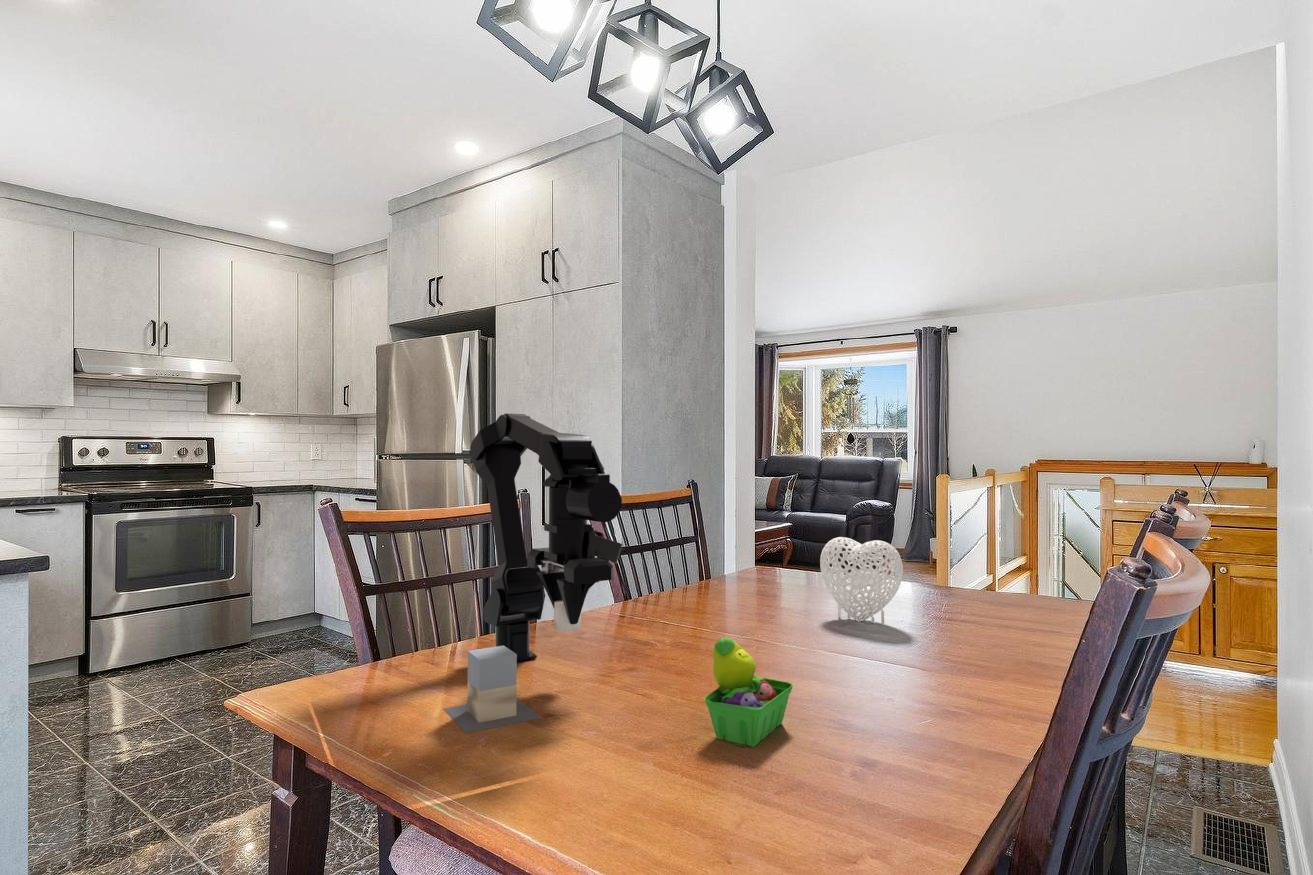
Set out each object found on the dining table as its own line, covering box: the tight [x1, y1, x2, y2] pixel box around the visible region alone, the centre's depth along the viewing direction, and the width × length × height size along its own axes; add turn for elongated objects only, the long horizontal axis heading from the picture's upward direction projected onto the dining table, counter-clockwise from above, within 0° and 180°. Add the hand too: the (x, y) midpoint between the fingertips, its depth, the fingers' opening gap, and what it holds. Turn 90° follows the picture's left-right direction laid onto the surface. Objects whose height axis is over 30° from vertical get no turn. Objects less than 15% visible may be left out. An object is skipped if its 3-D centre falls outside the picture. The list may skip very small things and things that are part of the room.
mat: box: [443, 696, 542, 735], centre depth 96 cm, size 10×10×1 cm
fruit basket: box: [703, 637, 794, 747], centre depth 92 cm, size 11×9×11 cm
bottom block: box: [466, 681, 517, 723], centre depth 96 cm, size 5×5×4 cm
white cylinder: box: [553, 600, 582, 633], centre depth 109 cm, size 4×4×4 cm
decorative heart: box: [819, 536, 904, 625], centre depth 150 cm, size 18×11×17 cm, turn 44°
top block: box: [467, 646, 518, 691], centre depth 96 cm, size 5×5×4 cm
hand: (567, 621), depth 109 cm, fingers closed on white cylinder, 4 cm apart
